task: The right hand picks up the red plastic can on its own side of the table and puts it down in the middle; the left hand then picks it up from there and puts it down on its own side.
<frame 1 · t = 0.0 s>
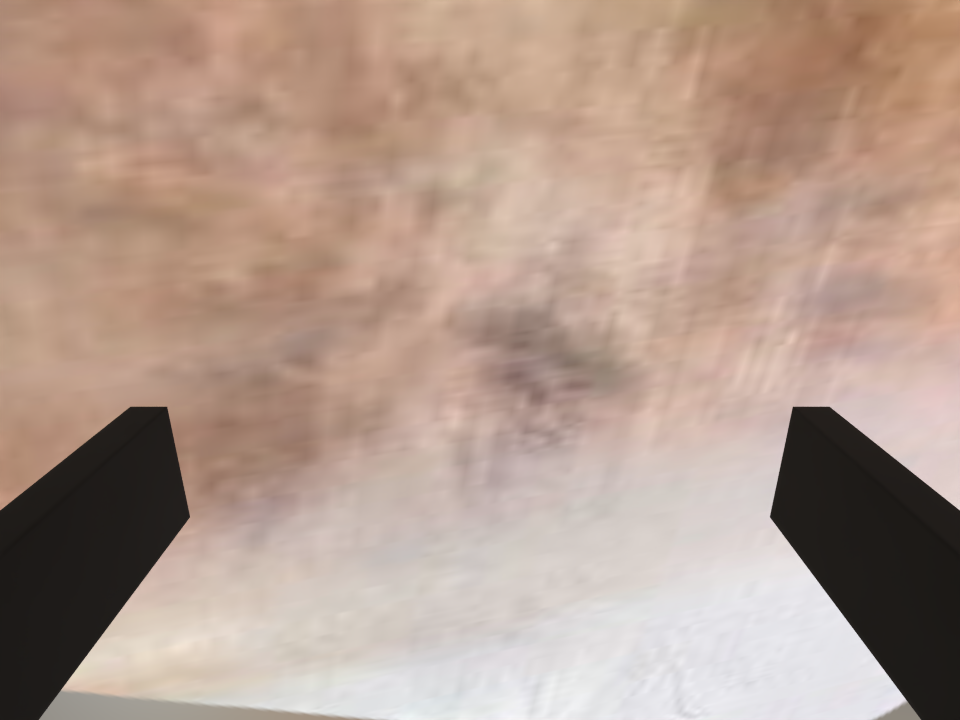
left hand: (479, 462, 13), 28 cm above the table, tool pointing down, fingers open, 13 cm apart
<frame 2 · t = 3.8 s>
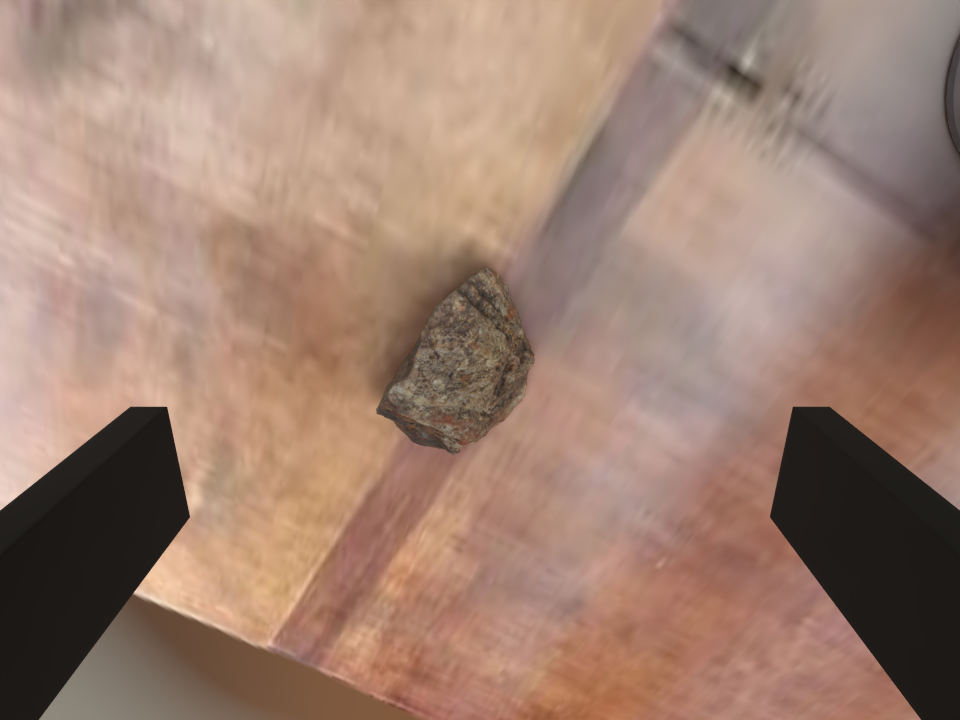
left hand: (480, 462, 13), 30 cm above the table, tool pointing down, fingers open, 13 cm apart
rock: (461, 361, 44), on the table
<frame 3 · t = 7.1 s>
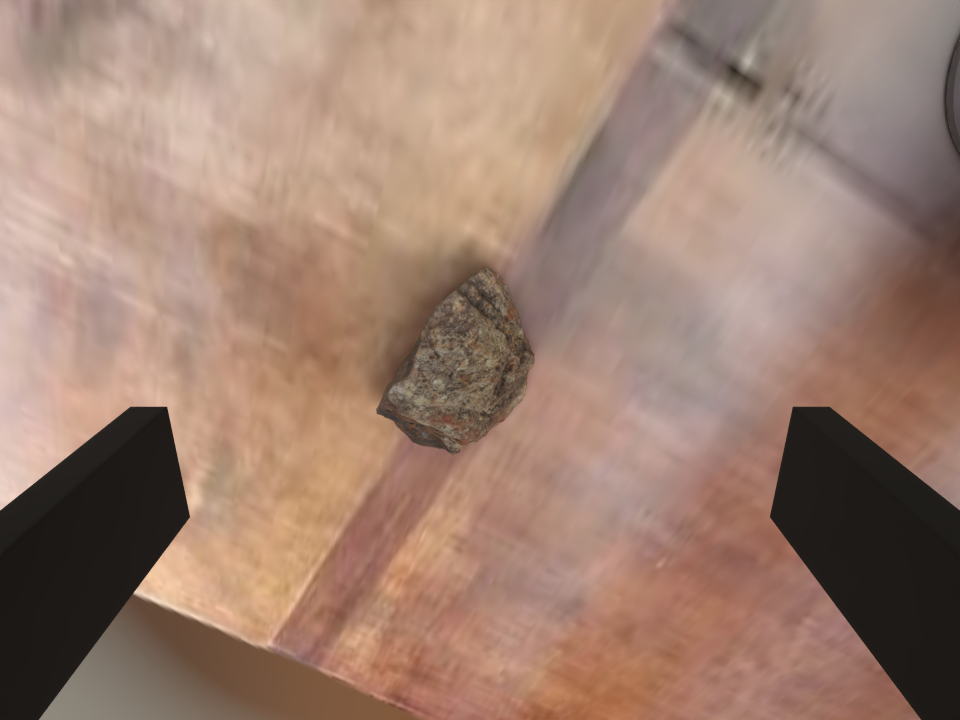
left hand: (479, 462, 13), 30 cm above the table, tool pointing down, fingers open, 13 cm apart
rock: (461, 361, 44), on the table
when the right hand's fingers open (5 cm above the table, at t = 10.3 s): can drops 1 cm, on the table.
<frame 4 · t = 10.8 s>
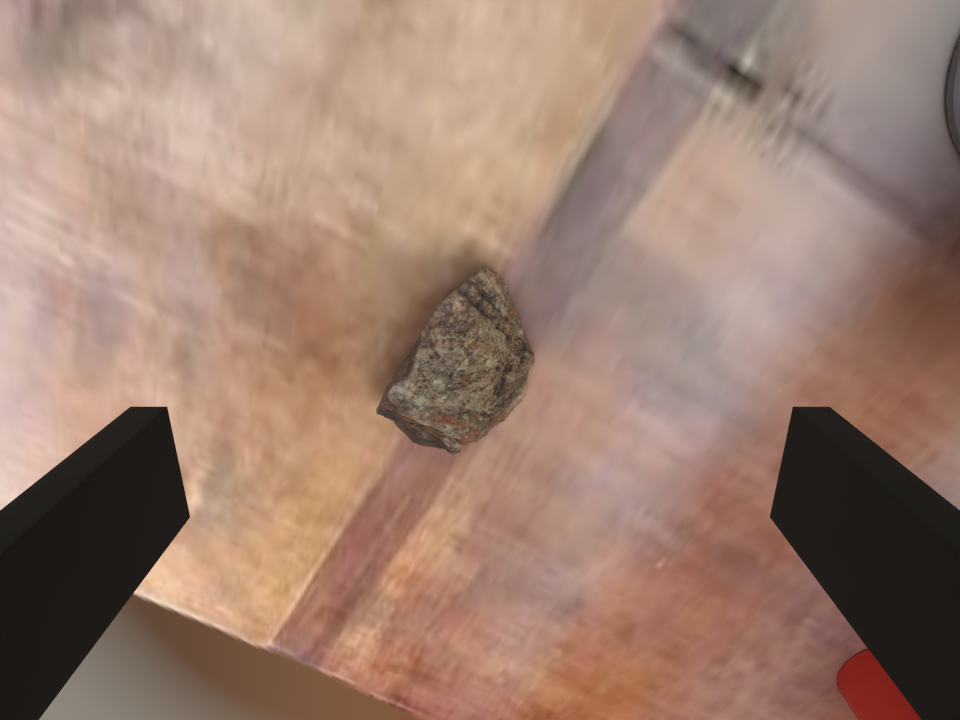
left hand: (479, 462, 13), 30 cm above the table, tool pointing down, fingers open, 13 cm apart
can: (876, 675, 55), on the table
rock: (461, 361, 44), on the table
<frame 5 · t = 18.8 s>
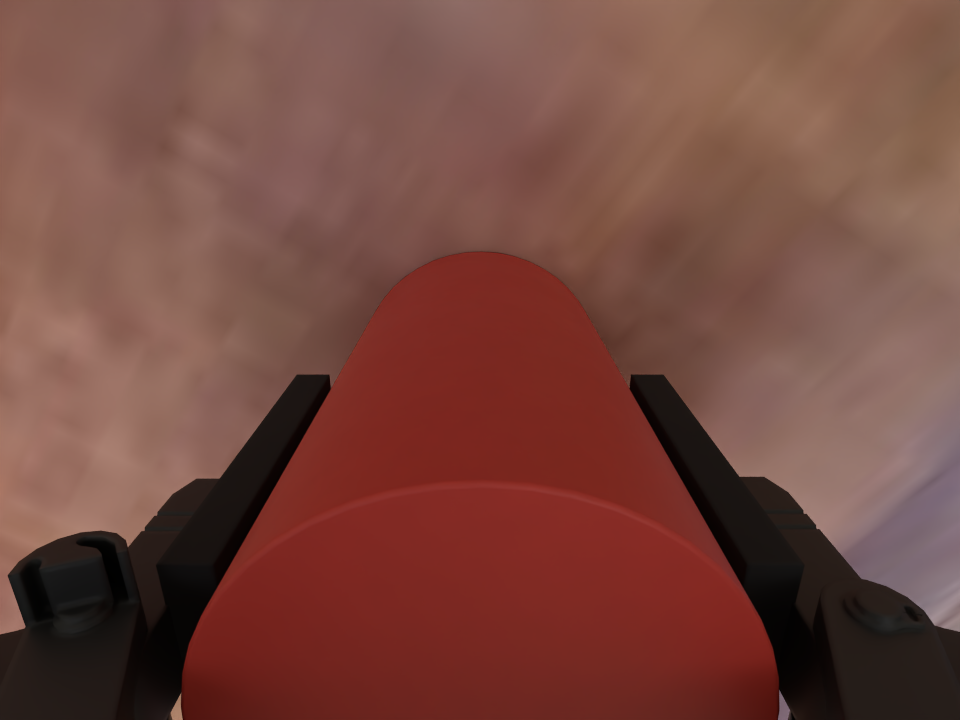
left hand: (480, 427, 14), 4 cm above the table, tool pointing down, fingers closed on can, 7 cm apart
can: (480, 367, 18), on the table, touching left hand
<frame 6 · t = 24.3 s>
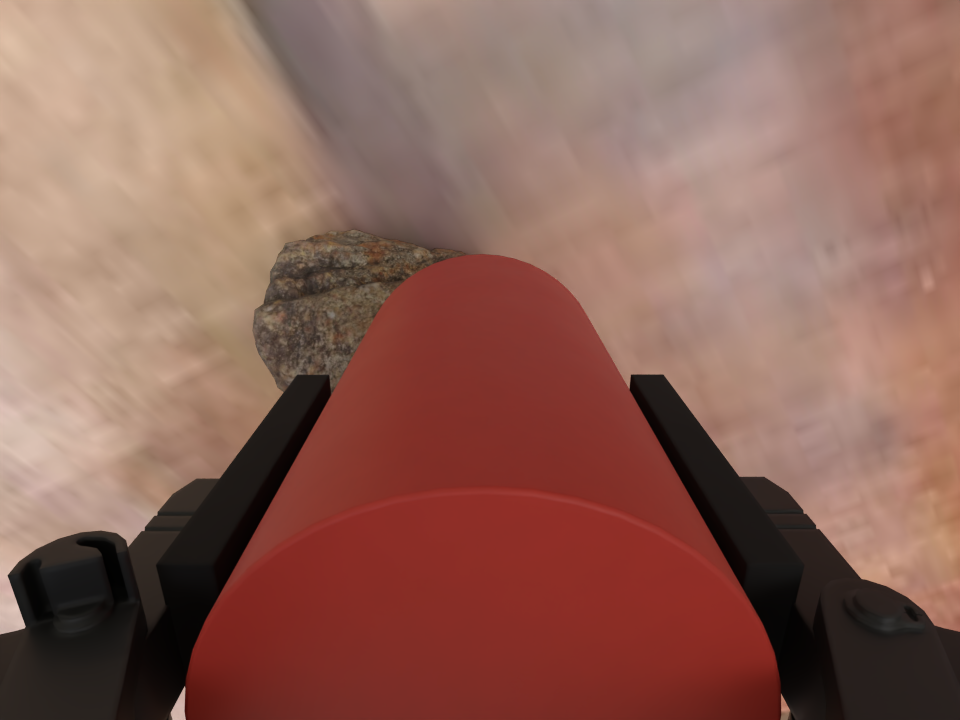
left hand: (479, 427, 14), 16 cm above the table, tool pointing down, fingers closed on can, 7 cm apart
can: (481, 370, 18), point 12 cm above the table, touching left hand
rock: (430, 345, 31), on the table
when the left hand's fingers open (5 cm above the table, at t = 30.0 s): can drops 1 cm, on the table.
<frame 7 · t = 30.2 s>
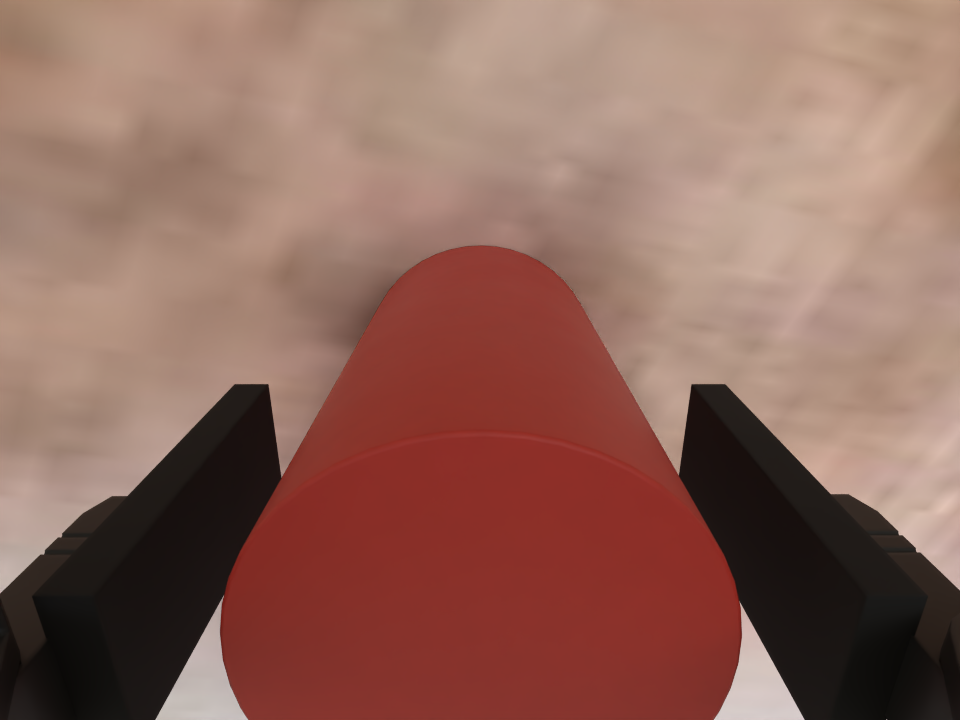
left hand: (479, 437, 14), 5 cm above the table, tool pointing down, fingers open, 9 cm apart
can: (480, 356, 19), on the table
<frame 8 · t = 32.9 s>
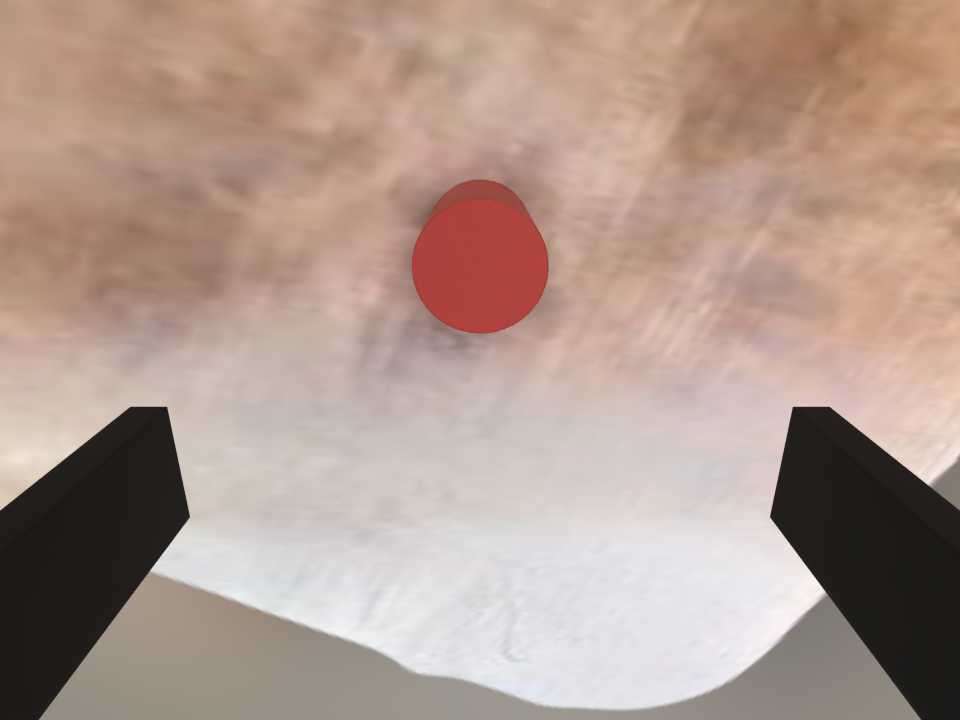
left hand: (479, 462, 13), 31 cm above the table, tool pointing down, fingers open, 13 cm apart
can: (480, 232, 42), on the table
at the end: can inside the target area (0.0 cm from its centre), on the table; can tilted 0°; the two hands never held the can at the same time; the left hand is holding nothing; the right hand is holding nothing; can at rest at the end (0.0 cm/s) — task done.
